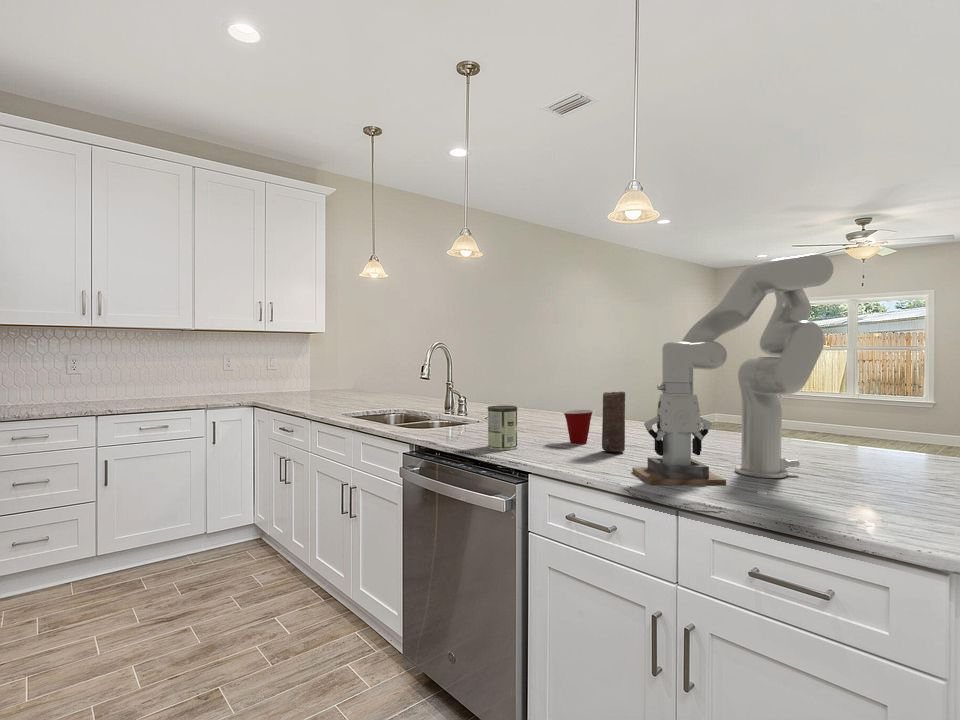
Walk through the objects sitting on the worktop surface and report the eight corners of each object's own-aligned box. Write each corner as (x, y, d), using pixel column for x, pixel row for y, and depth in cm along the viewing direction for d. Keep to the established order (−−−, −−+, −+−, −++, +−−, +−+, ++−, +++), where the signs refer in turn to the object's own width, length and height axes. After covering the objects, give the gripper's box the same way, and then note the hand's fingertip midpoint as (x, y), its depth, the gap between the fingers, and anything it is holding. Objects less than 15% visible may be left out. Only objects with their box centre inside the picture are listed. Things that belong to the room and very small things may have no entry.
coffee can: (497, 444, 185) (497, 404, 185) (522, 446, 179) (522, 406, 179) (481, 448, 176) (481, 407, 176) (508, 451, 171) (508, 409, 171)
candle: (625, 455, 165) (626, 392, 165) (602, 454, 166) (602, 392, 166) (624, 450, 173) (624, 391, 172) (601, 449, 174) (601, 390, 174)
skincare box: (679, 470, 138) (679, 425, 138) (691, 474, 134) (692, 427, 134) (661, 472, 136) (661, 426, 135) (673, 476, 131) (674, 428, 131)
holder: (700, 471, 142) (701, 456, 142) (726, 484, 128) (726, 467, 128) (632, 471, 141) (632, 456, 141) (650, 484, 127) (650, 467, 127)
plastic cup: (570, 439, 195) (570, 407, 195) (597, 442, 189) (598, 409, 188) (557, 443, 186) (557, 410, 186) (585, 446, 180) (585, 412, 180)
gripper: (649, 390, 130) (650, 458, 131) (717, 389, 131) (717, 457, 131) (640, 388, 138) (640, 452, 138) (704, 387, 138) (704, 451, 139)
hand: (677, 454), depth 135 cm, fingers open, 9 cm apart
